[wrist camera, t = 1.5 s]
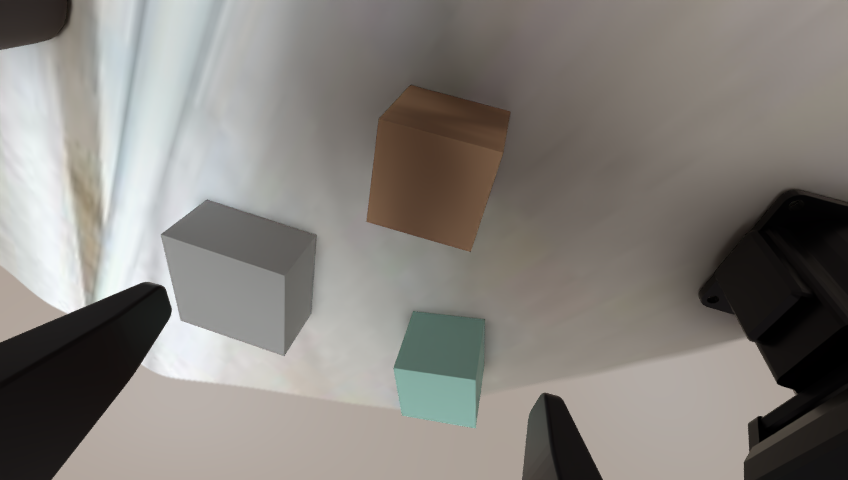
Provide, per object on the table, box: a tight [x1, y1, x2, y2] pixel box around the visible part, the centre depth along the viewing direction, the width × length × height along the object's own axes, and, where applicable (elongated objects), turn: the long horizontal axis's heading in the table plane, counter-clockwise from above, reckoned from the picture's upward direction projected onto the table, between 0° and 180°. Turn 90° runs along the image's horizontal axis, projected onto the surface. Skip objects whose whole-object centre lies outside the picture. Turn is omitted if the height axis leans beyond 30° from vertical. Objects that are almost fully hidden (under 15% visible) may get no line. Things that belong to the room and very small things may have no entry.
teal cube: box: [394, 311, 485, 428], centre depth 25 cm, size 4×4×4 cm
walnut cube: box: [367, 85, 510, 252], centre depth 17 cm, size 4×4×4 cm
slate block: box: [161, 200, 316, 356], centre depth 25 cm, size 7×7×4 cm
